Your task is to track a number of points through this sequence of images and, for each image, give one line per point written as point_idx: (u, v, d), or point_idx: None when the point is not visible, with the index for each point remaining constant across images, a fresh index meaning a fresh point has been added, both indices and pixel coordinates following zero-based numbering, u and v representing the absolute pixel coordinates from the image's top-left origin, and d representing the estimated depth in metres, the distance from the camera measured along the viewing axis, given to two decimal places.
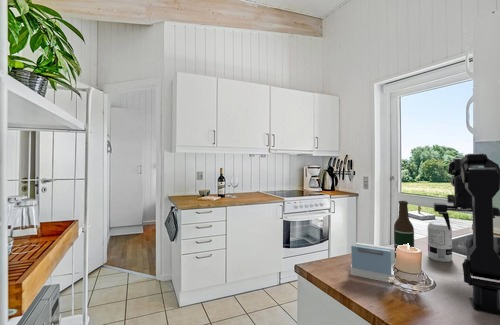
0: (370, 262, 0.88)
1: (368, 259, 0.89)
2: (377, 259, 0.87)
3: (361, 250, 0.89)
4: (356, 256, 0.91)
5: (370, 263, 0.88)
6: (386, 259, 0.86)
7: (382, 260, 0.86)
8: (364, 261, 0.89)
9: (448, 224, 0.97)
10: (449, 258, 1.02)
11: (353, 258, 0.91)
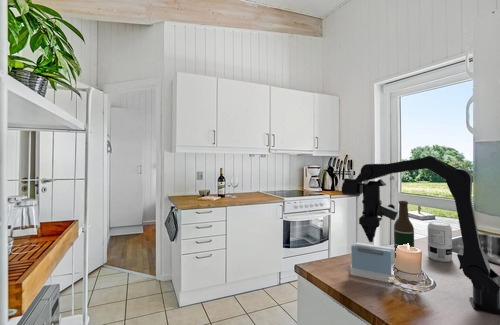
0: (370, 262, 0.88)
1: (368, 259, 0.89)
2: (377, 259, 0.87)
3: (361, 250, 0.89)
4: (356, 256, 0.91)
5: (370, 263, 0.88)
6: (386, 259, 0.86)
7: (382, 260, 0.86)
8: (364, 261, 0.89)
9: None
10: (449, 258, 1.02)
11: (353, 258, 0.91)
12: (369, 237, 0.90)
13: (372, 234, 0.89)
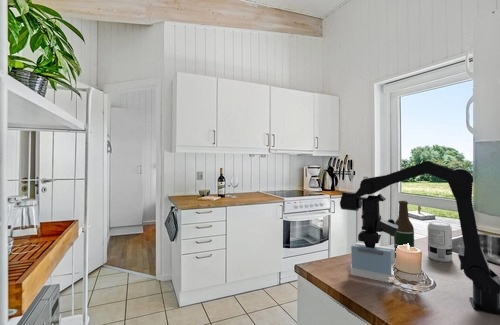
0: (370, 262, 0.88)
1: (368, 259, 0.89)
2: (377, 259, 0.87)
3: (361, 250, 0.89)
4: (356, 256, 0.91)
5: (370, 263, 0.88)
6: (386, 259, 0.86)
7: (382, 260, 0.86)
8: (364, 261, 0.89)
9: None
10: (449, 258, 1.02)
11: (353, 258, 0.91)
12: None
13: None
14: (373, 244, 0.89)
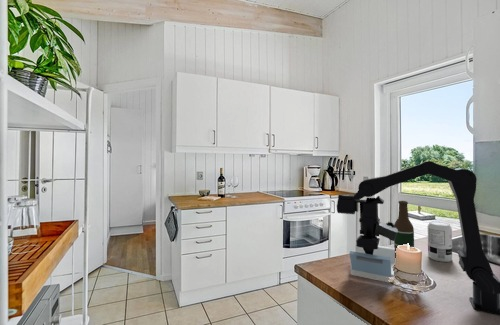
0: (370, 266, 0.87)
1: (367, 264, 0.87)
2: (377, 265, 0.85)
3: (360, 259, 0.86)
4: (355, 261, 0.89)
5: (369, 267, 0.87)
6: (386, 265, 0.84)
7: (382, 266, 0.84)
8: (364, 265, 0.88)
9: None
10: (449, 258, 1.02)
11: (352, 263, 0.90)
12: None
13: (372, 252, 0.86)
14: (372, 248, 0.85)
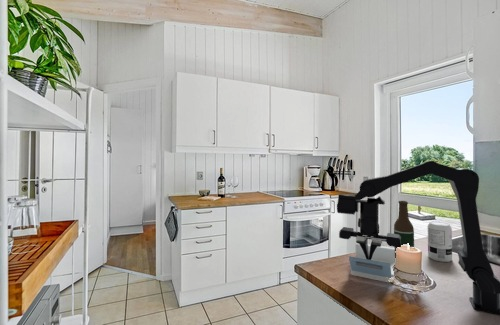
0: (370, 269, 0.87)
1: (367, 268, 0.86)
2: (376, 269, 0.85)
3: (359, 265, 0.85)
4: (355, 265, 0.88)
5: (369, 270, 0.87)
6: (386, 270, 0.83)
7: (381, 270, 0.84)
8: (363, 268, 0.88)
9: (366, 255, 0.85)
10: (449, 258, 1.02)
11: (352, 266, 0.89)
12: None
13: None
14: None
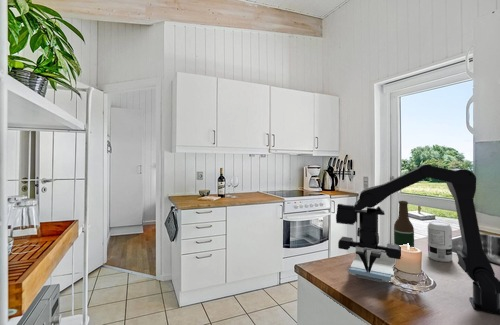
0: None
1: None
2: None
3: (359, 277, 0.84)
4: None
5: None
6: None
7: None
8: None
9: (365, 266, 0.84)
10: (449, 258, 1.02)
11: None
12: (371, 267, 0.84)
13: None
14: None
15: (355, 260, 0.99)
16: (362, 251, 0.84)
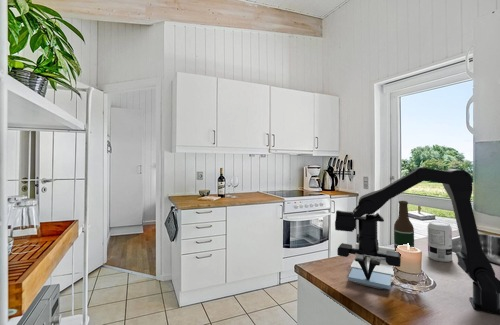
0: None
1: None
2: None
3: None
4: None
5: None
6: None
7: None
8: None
9: (365, 273, 0.83)
10: (449, 258, 1.02)
11: None
12: None
13: None
14: None
15: None
16: (362, 258, 0.83)
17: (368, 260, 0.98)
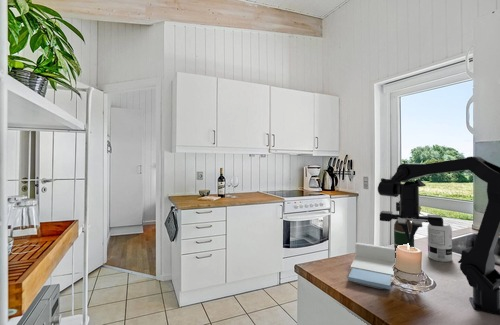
0: None
1: None
2: None
3: None
4: None
5: None
6: None
7: None
8: None
9: (407, 236, 0.88)
10: (449, 258, 1.02)
11: None
12: None
13: None
14: None
15: (355, 260, 0.99)
16: (404, 222, 0.88)
17: (368, 260, 0.98)
